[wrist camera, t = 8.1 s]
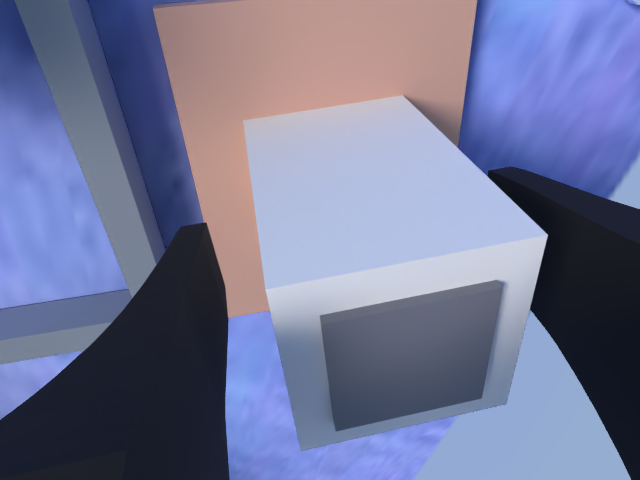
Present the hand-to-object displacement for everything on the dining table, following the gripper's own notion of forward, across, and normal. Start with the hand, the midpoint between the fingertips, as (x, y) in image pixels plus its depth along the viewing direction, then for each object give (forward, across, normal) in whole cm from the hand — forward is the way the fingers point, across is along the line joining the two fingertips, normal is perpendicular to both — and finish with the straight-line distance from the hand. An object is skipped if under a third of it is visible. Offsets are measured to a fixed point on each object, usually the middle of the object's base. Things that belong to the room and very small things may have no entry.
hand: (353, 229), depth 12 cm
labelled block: (+3, 0, 0) cm, 3 cm away
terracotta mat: (+3, 0, 0) cm, 3 cm away
